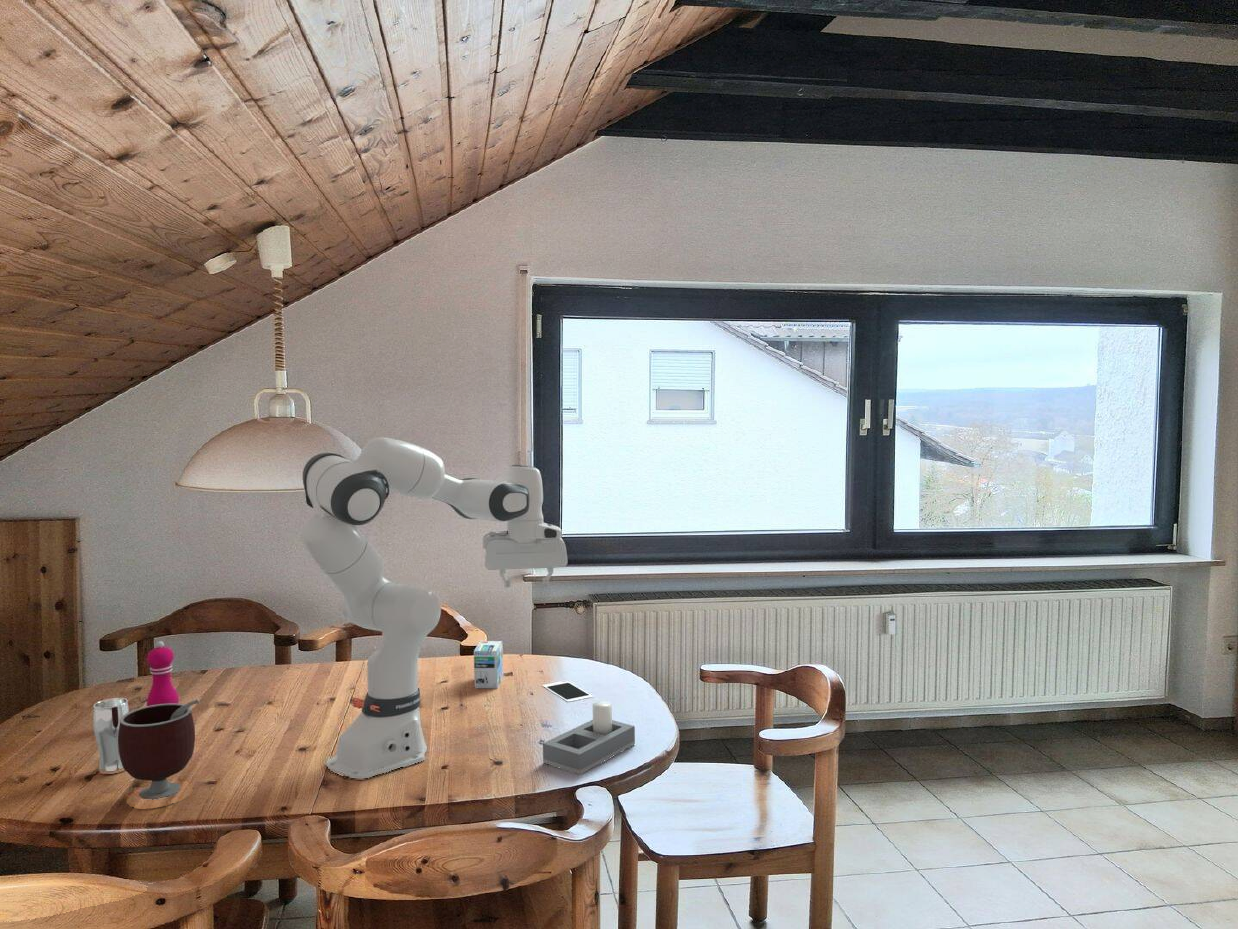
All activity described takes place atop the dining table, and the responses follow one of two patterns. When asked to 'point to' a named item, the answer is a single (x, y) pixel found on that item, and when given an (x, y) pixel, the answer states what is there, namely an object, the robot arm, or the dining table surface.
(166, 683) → the pepper mill
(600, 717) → the plug
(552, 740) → the socket block
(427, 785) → the dining table surface
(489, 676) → the light bulb box
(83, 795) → the dining table surface
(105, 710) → the beer glass
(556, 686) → the cell phone
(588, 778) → the dining table surface
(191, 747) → the mate gourd
